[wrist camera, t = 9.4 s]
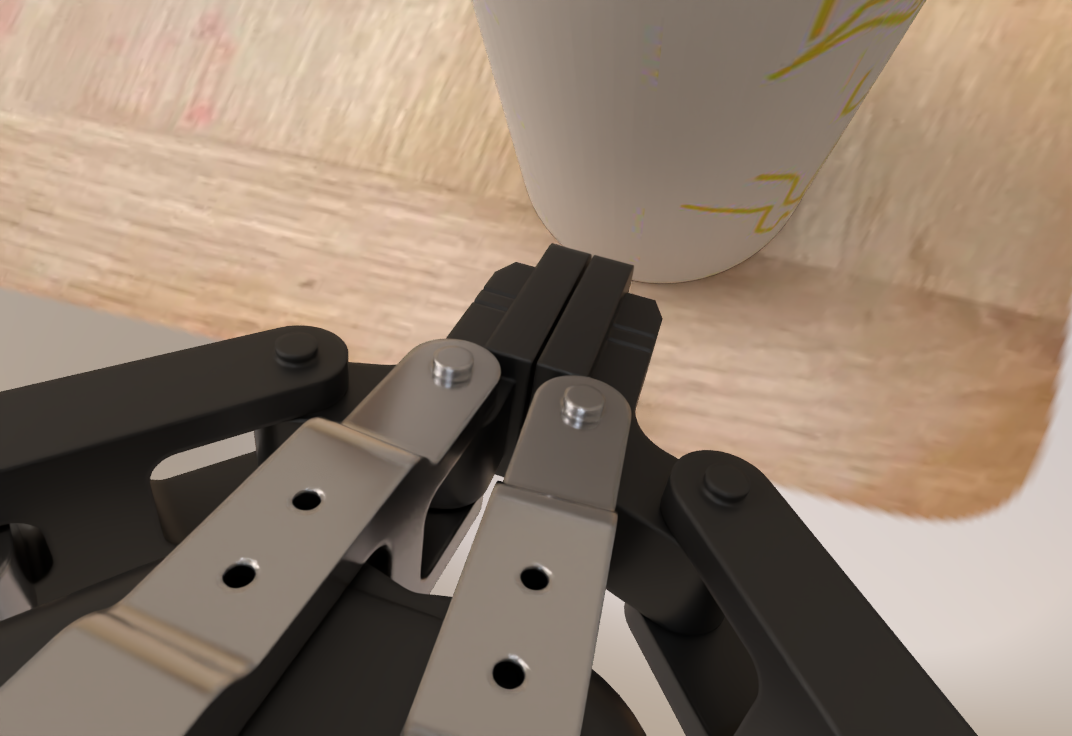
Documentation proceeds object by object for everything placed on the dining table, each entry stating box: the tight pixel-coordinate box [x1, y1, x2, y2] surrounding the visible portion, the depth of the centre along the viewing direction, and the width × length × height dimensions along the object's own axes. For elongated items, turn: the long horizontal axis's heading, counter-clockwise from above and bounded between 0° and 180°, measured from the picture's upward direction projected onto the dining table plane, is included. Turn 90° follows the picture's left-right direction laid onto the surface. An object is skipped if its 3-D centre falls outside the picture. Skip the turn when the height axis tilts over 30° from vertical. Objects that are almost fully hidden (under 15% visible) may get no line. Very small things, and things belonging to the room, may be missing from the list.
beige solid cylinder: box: [472, 0, 926, 283], centre depth 15 cm, size 8×8×12 cm
